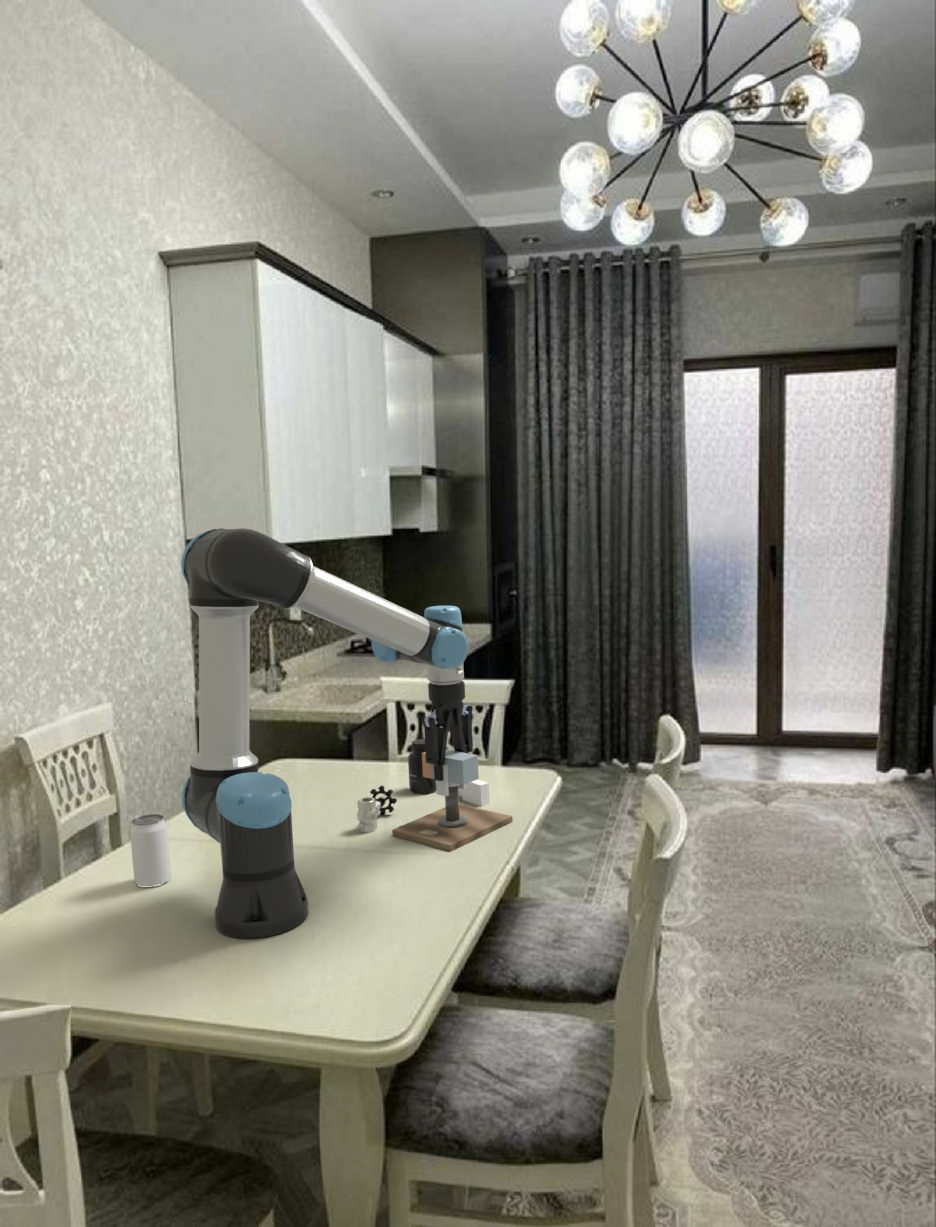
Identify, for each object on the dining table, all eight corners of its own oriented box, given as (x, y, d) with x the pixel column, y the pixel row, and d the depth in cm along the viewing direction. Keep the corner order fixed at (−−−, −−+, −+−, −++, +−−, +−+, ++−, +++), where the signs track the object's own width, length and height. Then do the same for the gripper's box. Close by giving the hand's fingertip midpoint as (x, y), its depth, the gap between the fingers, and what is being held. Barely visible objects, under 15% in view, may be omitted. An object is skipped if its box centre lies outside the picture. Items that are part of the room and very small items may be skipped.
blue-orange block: (463, 791, 184) (462, 760, 183) (423, 783, 191) (421, 753, 190) (479, 785, 188) (477, 754, 187) (438, 777, 195) (437, 747, 194)
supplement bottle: (405, 794, 215) (402, 744, 214) (415, 785, 222) (412, 737, 220) (432, 795, 213) (430, 745, 212) (442, 786, 220) (439, 738, 218)
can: (178, 875, 172) (173, 814, 170) (158, 889, 166) (152, 826, 164) (148, 873, 173) (143, 812, 172) (127, 887, 167) (121, 824, 166)
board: (451, 851, 178) (448, 805, 177) (392, 835, 188) (389, 792, 187) (512, 821, 193) (510, 779, 192) (455, 808, 203) (453, 768, 202)
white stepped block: (498, 809, 203) (497, 784, 202) (447, 812, 203) (446, 787, 202) (495, 789, 218) (494, 765, 217) (448, 791, 218) (447, 768, 217)
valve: (379, 834, 189) (397, 814, 201) (377, 803, 189) (396, 785, 200) (349, 832, 191) (369, 813, 203) (347, 802, 190) (367, 785, 202)
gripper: (430, 690, 178) (436, 806, 180) (487, 675, 191) (492, 783, 194) (402, 687, 183) (408, 799, 185) (460, 672, 196) (465, 777, 199)
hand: (451, 791), depth 190 cm, fingers closed on blue-orange block, 5 cm apart
